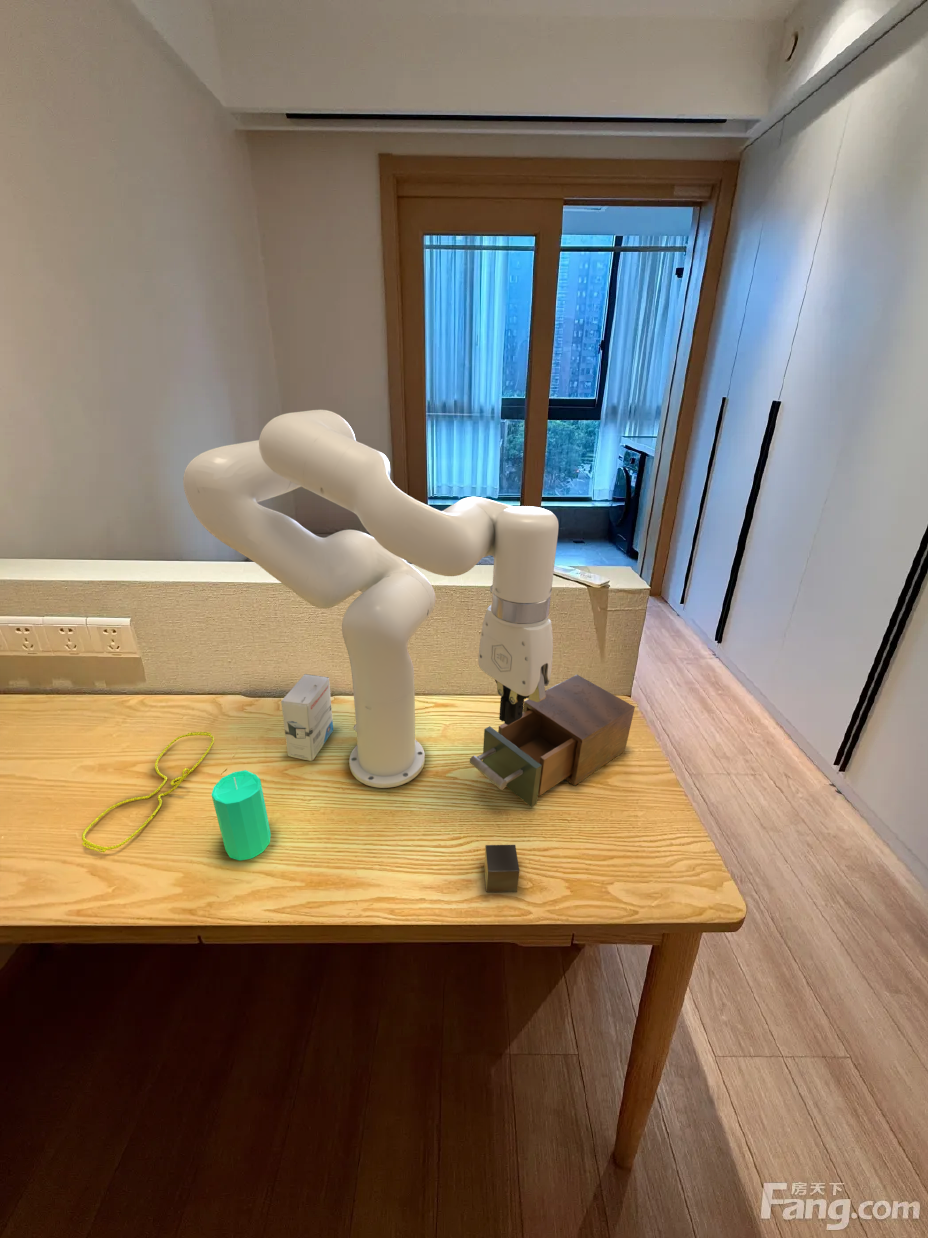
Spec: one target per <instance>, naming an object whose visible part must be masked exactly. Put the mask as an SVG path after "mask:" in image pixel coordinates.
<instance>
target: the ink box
mask: <svg viewBox="0 0 928 1238" xmlns="http://www.w3.org/2000/svg"><path fill="white" fill-rule="evenodd" d="M330 685H331V683H330V677H329V676H323V675H315V674H307V673H304V674H303V675H302V677H300V679H298V681H297V682H296V683H295V684H294V686H293V687H292V688H291V689H290V690H289V691H288V692H287V694H285V696H284V697H283V698H282V700H280V705H281V710H282V711H281V713H282V718H283V728H284V735H285V742H286V743H285V744H286V749H287V750H286V751H287V756H288V757H291V758H294V759H299V760H305V761H310V762H312V761H314V760H315V758H316V757H317V756H318V754H319V753H320V751H321V749H322V748H323V747H324V745H325V744H326V742H327V740H328V739H329V738H330V736H331V734H332V733H333V732H334V720H333V709H332V708H333V707H332V696H331V686H330Z"/></svg>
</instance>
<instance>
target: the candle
mask: <svg viewBox="0 0 928 1238" xmlns="http://www.w3.org/2000/svg"><path fill="white" fill-rule="evenodd" d="M262 785H263V784H262V781H261V778H260V777H259V776H258V775H257V774H256V773H254V772H251V771H249V770H246V769H244V770H239V771H233V772H231V773H229V774H227V775H225V776H223V777H221V778H220V779H219V781H218V782H216V784H215V785H214V786H213V788H212V792H211V799H212V802H213V806H214V810H215V811H214V812H215V815H216V818H217V823H218V827H219V830H220V835H221V838H222V843H223V846H224V850H225V852H226V853H227V855H228V857H229V858H230V859H232V860H236V861H239V862H240V861H246V860H253V859H254V858H255V857H257V856H259V855H261V854H262V853H264V852H265V850H266V849H267V848H268V846H269V845H270V844H271V837H272V832H271V828H270V822H269V817H268V812H267V806H266V801H265V797H264V791H263V786H262Z"/></svg>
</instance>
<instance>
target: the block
mask: <svg viewBox="0 0 928 1238" xmlns="http://www.w3.org/2000/svg"><path fill="white" fill-rule="evenodd" d="M518 859H519V858H518V854H517V847H516V844H485V847H484V859H483V860H484V861H483V868H484V869H483V870H484V877H485V878H484V881H485V891H486V893H506V892H507V893H511V892H512V893H514V892H518V887H519V879H520V866H519V865H520V864H519V860H518Z"/></svg>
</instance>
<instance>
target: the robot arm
mask: <svg viewBox="0 0 928 1238" xmlns="http://www.w3.org/2000/svg"><path fill="white" fill-rule="evenodd" d="M182 482H183V490H184V491H183V492H184V494H185V498H186V500H187V502H188V506H189V507H190V509H191V511H192V513H193V514H194V516H195V518H196V519H197V520H198V522H199V523H200V524H201V525H202V527H203V528H205V530H207V531H208V532H209V534H211V535H212V536H213V537H214V538H215V539H217V540H218V541H220V542H221V543H223V544H224V545H226V546H227V547H229V548H231V549H232V550H234V551H236V552H237V553H239V554H240V555H243V556H244V557H246V558H247V559H249V560H251V561H252V562H253V563H254V564H256V565H257V566H259V567H260V568H262V569H263V570H264V571H265V572H266V573H268V574H269V576H270V575H271V576H272V577H273V578H274V579H275V580H277V581H278V582H280V583H281V584H282V585H284V586H285V587H286V588H288V589H289V590H290V591H292V592H293V593H295V594H296V595H297V596H298V597H299V598H300V599H302V600H303V601H305V602H307V603H308V604H310V605H312V606H313V607H315V608H318V609H324V610H325V609H326V610H327V609H331V608H334V607H336V606H338V605H340V604H341V603H343V602H345V601H346V600H347V599H349V598H351V597H352V596H354V595H355V594H356V593H357V592H361V594H359V595H358V596H357V597H356V598H355V599H353V601H352V602H351V603H350V604H349V605H348V607H347V608H346V609H345V612H344V614H343V616H342V620H341V633H342V638H343V641H344V645H345V648H346V651H347V655H348V658H349V664H350V665H349V666H350V671H351V682H352V683H351V684H352V691H353V705H354V718H355V724H354V725H353V727H352V730H353V731H354V732H355V733H356V743H357V744H356V745H355V746H354V747H353V749H352V750H351V752H350V754H349V758H348V759H349V760H348V762H349V763H348V764H349V771H350V772H351V774H352V776H353V777H354V778H355V779H356V780H357V781H359V782H360V783H361V784H364V785H366V786H369V787H372V788H377V789H378V788H379V789H387V788H388V789H389V788H394V787H395V788H396V787H399V786H402V785H404V784H406V783H410V781H412V780H414V779H415V778H416V777H417V776H418V775H419V774H420V773H421V772H422V770H423V768H424V766H425V759H426V755H425V751H424V747H423V746H422V744H421V743H420V742H418V740H417V739H416V690H415V689H416V687H415V668H414V663H413V660H412V658H411V655H410V652H409V641H410V640H411V638H412V637H413V636H414V634H415V633H416V632H417V631H418V630H419V629H420V628H421V627H422V625H424V624H425V622H427V620H428V619H429V618H430V617H431V615H432V614H433V612H434V610H435V608H436V603H437V602H436V601H437V600H436V599H437V598H436V593H435V589H434V587H433V586H432V583H431V582H430V581H429V579H428V578H427V577H426V576H425V575H424V574H423V573H422V572H420V570H418V569H417V568H416V567H418V568H419V569H421V570H425V571H426V572H429V573H432V574H435V575H438V576H444V577H458V576H461V575H464V574H466V573H468V572H470V570H472V569H473V568H474V567H475V566H476V565H478V563H479V562H480V561H481V560H482V559H483V558H486V557H490V556H491V557H493V570H492V585H491V586H490V587H489V592H490V593H491V604H490V605H488V606H487V608H486V611H485V613H484V618H483V621H482V626H481V632H480V636H479V637H480V638H479V644H478V645H479V646H478V656H477V657H478V661H477V662H478V667H479V669H480V670H481V671H482V672H483V673H485V674H486V675H487V676H489V677H490V678H492V679H494V681H495V683H496V690H497V691H496V692H497V695H498V696H499V697H500V703H499V714H498V715H499V716H498V719H499V720H500V721H501V722H503V724H504V723H505V724H507V725H509V724H511V723H513V722H515V721H517V720H518V719H520V718H521V717H522V715H523V707H524V701H525V700H528V699H529V700H532V701H535V702H540V701H542V700H543V699H545V698H546V695H545V691H546V687H547V686H549V685H550V682H551V677H552V670H553V656H554V637H553V625H552V620H551V619H550V618H549V616H550V607H551V599H552V590H553V580H554V571H555V561H556V554H557V545H558V537H559V527H560V526H559V519H558V518H557V516H556V515H555V514H554V513H553V511H551V510H548V509H545V508H542V507H538V506H530V505H529V506H528V505H527V506H526V505H525V506H524V505H521V506H513V505H510V504H506V503H502V502H499V501H496V500H492V499H489V498H485V497H479V496H469V497H465V498H462V499H460V500H458V501H456V502H455V503H453V504H451V505H450V506H448V507H447V508H445V509H443V510H439V509H436V508H434V507H432V506H430V505H428V504H425V503H424V502H421V501H419V500H418V499H415V498H414V497H412V496H411V495H408V494H407V493H405V492H404V491H402V490H401V489H400V488H398V486H396V485H395V483H393V481H392V480H391V464H390V461H389V458H388V457H387V456H386V455H385V454H384V453H383V452H381V451H379V450H378V449H375V448H372V447H371V446H369V445H366V444H365V443H362V442H359V441H358V440H356V436H355V433H354V430H353V429H352V427H351V426H350V424H349V423H348V421H347V420H345V418H344V417H342V416H341V415H340V414H338V413H336V412H334V411H331V410H328V409H312V410H302V411H294V412H286V413H283V414H279V415H278V416H276V417H275V416H274V417H273V418H271V420H269V421H268V422H267V423H266V424H265V425H264V427H263V428H262V430H261V431H260V434H259V438H258V439H256V440H250V441H244V442H238V443H234V444H228V445H221V446H218V447H214V448H211V449H208V450H206V451H204V452H202V453H201V452H200V453H199V454H198V455H197V456H195V457H194V458H192V460H190V462H189V463H188V464H187V466H186V468H185V470H184V472H183V478H182ZM299 488H302V489H305V490H307V491H310V492H312V493H313V494H315V495H317V496H320V497H321V498H323V499H326V500H327V501H329V502H332V503H333V504H336V505H337V506H339V507H341V508H344V509H346V510H348V511H349V512H352V513H353V514H355V515H356V516H357V518H358V519H359V521H360V523H361V524H362V526H363V527H364V529H365V530H366V531H367V532H368V533H369V534H368V533H366V532H364V531H360V530H356V529H343V530H340V531H337V532H334V533H332V534H330V535H328V536H326V537H321V536H318V535H316V534H315V533H313V532H311V531H310V530H309V529H307V528H305V527H304V526H302V524H300V523H299V522H298V521H296V519H294V518H292V517H291V516H290V515H289V516H288V515H286V514H284V513H282V512H280V511H277V510H274V509H271V508H269V507H265V506H263V505H262V504H259V503H261V502H263V501H266V500H269V499H273V498H275V497H278V496H282V495H285V494H287V493H289V492H292V491H294V490H296V489H299ZM411 564H412V565H411ZM413 565H414V566H415V567H414V566H413Z"/></svg>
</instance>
